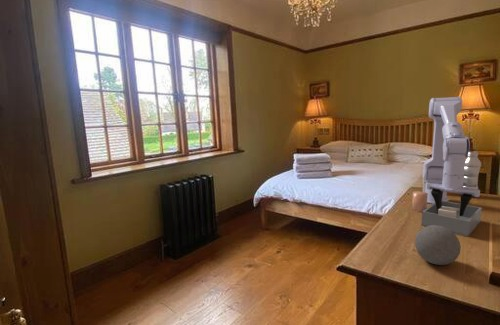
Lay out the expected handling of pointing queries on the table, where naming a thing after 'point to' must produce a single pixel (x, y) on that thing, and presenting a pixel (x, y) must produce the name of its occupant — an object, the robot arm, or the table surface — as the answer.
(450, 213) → the cube
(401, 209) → the table surface
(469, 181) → the plastic bottle
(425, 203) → the brown egg
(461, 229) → the box
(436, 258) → the decorative ball
